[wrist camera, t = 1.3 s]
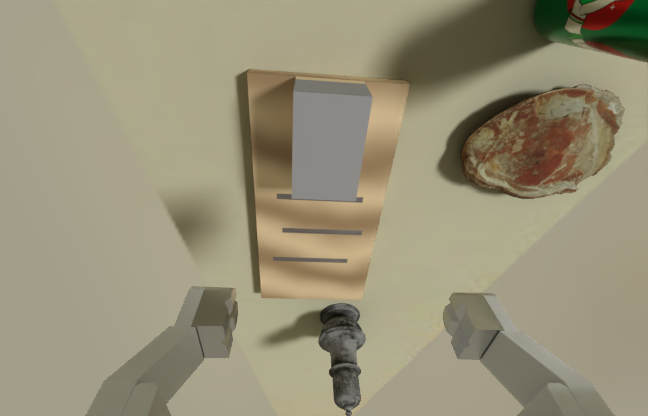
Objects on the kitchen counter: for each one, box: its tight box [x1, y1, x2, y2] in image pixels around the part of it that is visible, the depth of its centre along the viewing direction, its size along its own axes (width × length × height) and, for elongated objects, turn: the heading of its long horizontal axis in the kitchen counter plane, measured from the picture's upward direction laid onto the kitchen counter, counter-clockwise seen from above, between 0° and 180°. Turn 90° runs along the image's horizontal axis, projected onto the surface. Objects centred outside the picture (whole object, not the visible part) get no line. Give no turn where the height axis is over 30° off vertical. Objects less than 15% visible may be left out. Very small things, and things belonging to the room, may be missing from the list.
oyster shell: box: [460, 84, 625, 199], centre depth 26 cm, size 13×10×3 cm
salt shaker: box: [318, 303, 366, 416], centre depth 36 cm, size 6×6×12 cm
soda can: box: [534, 0, 648, 63], centre depth 16 cm, size 5×5×12 cm
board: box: [247, 69, 410, 300], centre depth 30 cm, size 25×12×1 cm, turn 176°
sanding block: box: [291, 76, 373, 201], centre depth 23 cm, size 8×5×4 cm, turn 176°
